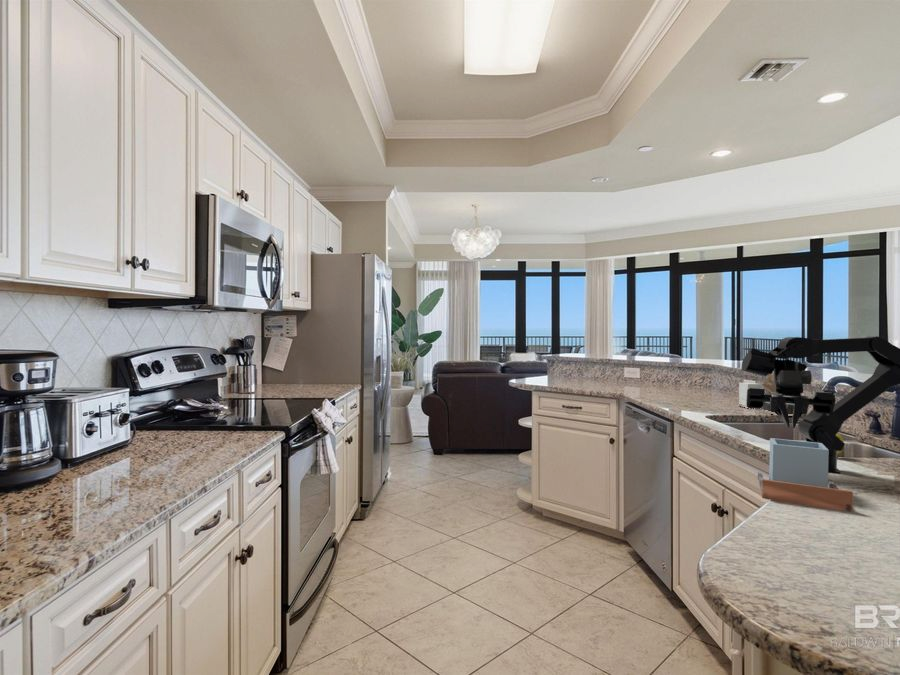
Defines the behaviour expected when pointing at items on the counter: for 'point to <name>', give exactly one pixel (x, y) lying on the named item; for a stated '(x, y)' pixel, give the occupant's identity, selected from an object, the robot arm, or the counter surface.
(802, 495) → the brown wooden tray
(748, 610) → the counter surface
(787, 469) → the box
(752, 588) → the counter surface
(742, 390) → the supplement box
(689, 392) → the counter surface
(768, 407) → the owl
